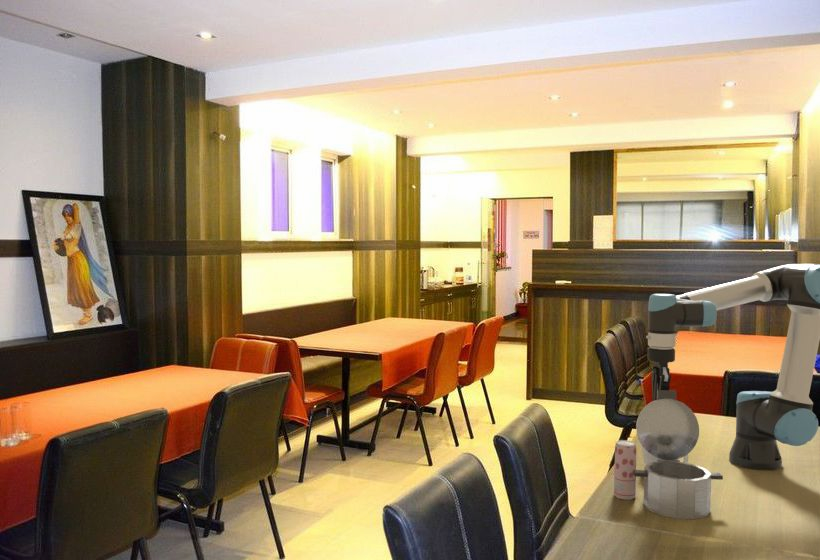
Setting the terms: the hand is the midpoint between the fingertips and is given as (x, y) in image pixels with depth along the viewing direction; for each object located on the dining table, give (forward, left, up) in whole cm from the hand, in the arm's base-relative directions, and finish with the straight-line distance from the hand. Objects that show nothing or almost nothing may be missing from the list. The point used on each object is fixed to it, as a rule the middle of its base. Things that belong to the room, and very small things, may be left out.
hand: (659, 427), depth 203 cm
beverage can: (+12, +12, -17) cm, 24 cm away
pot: (0, +19, -16) cm, 25 cm away
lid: (0, +9, +3) cm, 9 cm away
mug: (-4, -10, -17) cm, 20 cm away
